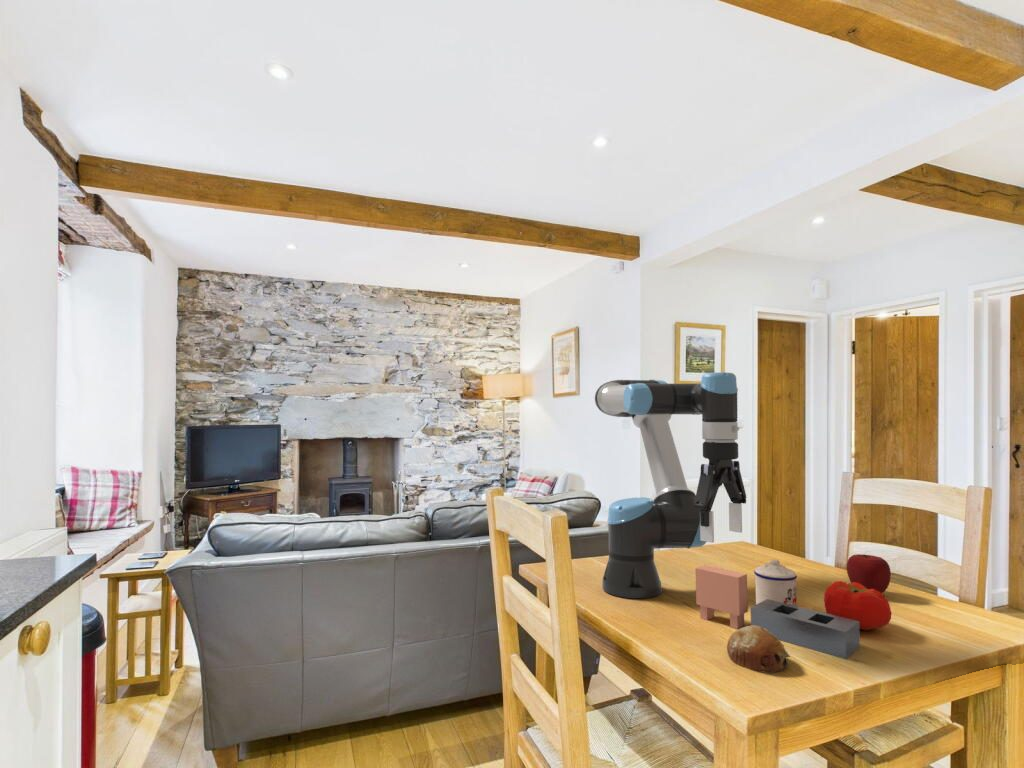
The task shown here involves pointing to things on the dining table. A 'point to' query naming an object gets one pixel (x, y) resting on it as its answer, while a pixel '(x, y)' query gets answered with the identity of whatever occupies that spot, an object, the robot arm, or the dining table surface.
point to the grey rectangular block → (808, 627)
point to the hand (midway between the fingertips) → (722, 536)
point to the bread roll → (757, 649)
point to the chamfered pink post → (722, 593)
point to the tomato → (857, 604)
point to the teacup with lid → (775, 583)
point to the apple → (869, 571)
